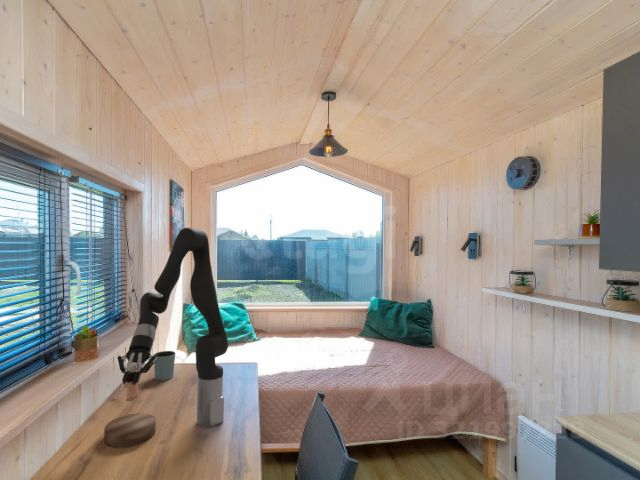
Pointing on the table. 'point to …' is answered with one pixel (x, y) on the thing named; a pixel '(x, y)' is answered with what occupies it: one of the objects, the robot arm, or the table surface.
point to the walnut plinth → (129, 430)
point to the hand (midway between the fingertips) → (129, 383)
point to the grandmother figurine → (131, 383)
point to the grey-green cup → (164, 365)
